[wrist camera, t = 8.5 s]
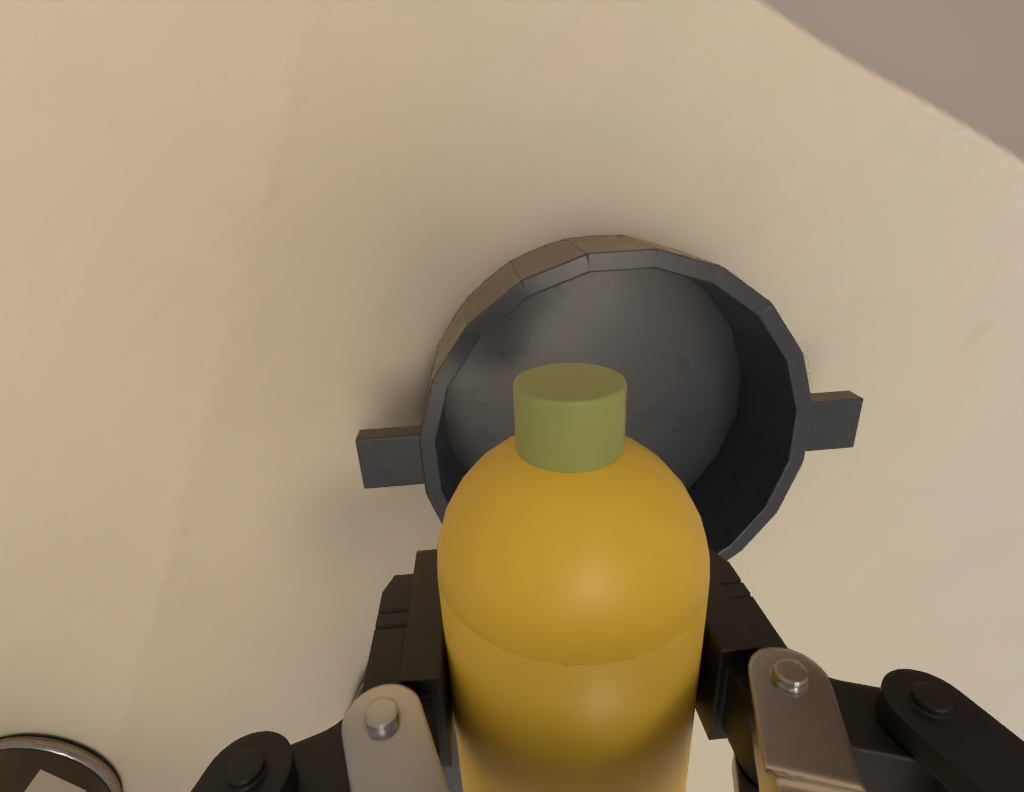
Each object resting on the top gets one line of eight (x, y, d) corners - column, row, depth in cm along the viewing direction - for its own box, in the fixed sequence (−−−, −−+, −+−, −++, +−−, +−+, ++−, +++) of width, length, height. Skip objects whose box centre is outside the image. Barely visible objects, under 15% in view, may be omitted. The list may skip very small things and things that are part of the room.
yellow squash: (640, 725, 15) (712, 950, 11) (468, 743, 15) (470, 982, 10) (665, 331, 11) (803, 435, 6) (427, 346, 11) (398, 465, 6)
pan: (776, 516, 31) (836, 582, 26) (399, 550, 30) (385, 626, 25) (823, 220, 25) (913, 231, 20) (349, 251, 24) (317, 271, 19)
